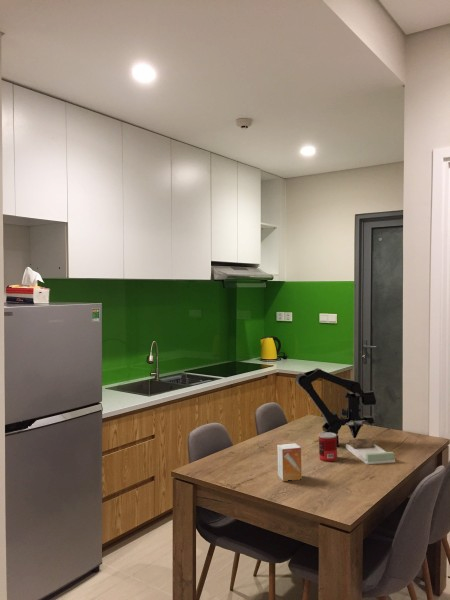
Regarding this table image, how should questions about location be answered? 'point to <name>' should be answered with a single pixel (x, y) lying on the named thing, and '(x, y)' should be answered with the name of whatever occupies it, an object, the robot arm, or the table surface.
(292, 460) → the small box
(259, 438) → the table surface
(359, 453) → the track
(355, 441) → the block
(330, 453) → the canned food
